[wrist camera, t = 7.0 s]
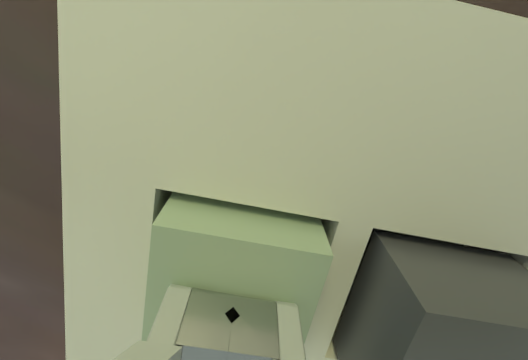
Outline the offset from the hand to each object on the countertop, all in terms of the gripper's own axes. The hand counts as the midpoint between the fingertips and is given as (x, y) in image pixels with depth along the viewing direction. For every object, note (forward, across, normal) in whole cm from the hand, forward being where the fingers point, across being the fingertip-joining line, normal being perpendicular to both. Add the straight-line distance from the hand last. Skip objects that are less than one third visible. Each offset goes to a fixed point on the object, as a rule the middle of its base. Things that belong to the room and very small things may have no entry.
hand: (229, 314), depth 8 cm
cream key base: (+5, -6, 0) cm, 7 cm away
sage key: (+3, 0, 0) cm, 3 cm away
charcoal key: (+2, -5, 0) cm, 6 cm away
